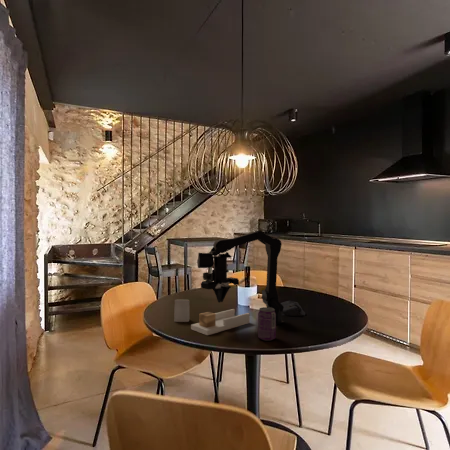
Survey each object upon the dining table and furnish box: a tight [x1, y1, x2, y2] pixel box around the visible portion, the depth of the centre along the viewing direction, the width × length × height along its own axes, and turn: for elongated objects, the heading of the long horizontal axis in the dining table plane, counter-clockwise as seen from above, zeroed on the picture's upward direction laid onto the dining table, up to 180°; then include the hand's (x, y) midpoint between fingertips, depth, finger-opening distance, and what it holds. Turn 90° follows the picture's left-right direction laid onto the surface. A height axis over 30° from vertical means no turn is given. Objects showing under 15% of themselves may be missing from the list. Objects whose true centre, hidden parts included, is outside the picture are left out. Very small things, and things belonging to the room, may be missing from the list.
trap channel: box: [190, 308, 251, 336], centre depth 155 cm, size 11×26×4 cm, turn 133°
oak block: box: [198, 311, 216, 328], centre depth 149 cm, size 5×5×5 cm
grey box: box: [173, 299, 190, 323], centre depth 163 cm, size 4×7×10 cm, turn 90°
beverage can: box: [257, 306, 277, 342], centre depth 138 cm, size 7×7×12 cm
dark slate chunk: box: [279, 300, 307, 317], centre depth 183 cm, size 15×22×5 cm
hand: (220, 302), depth 154 cm, fingers closed
